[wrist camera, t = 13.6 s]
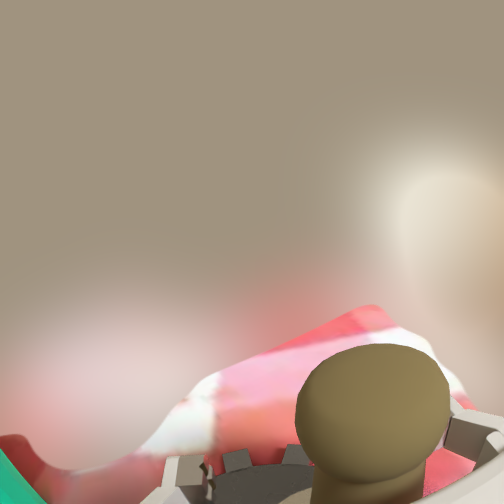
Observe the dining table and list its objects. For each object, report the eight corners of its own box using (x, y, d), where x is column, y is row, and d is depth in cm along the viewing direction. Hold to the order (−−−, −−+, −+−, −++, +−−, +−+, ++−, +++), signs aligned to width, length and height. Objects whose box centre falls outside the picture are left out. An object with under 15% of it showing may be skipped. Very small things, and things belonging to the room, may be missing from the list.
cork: (300, 495, 14) (269, 341, 12) (401, 470, 14) (418, 307, 11) (311, 580, 8) (280, 469, 6) (433, 545, 8) (509, 392, 5)
